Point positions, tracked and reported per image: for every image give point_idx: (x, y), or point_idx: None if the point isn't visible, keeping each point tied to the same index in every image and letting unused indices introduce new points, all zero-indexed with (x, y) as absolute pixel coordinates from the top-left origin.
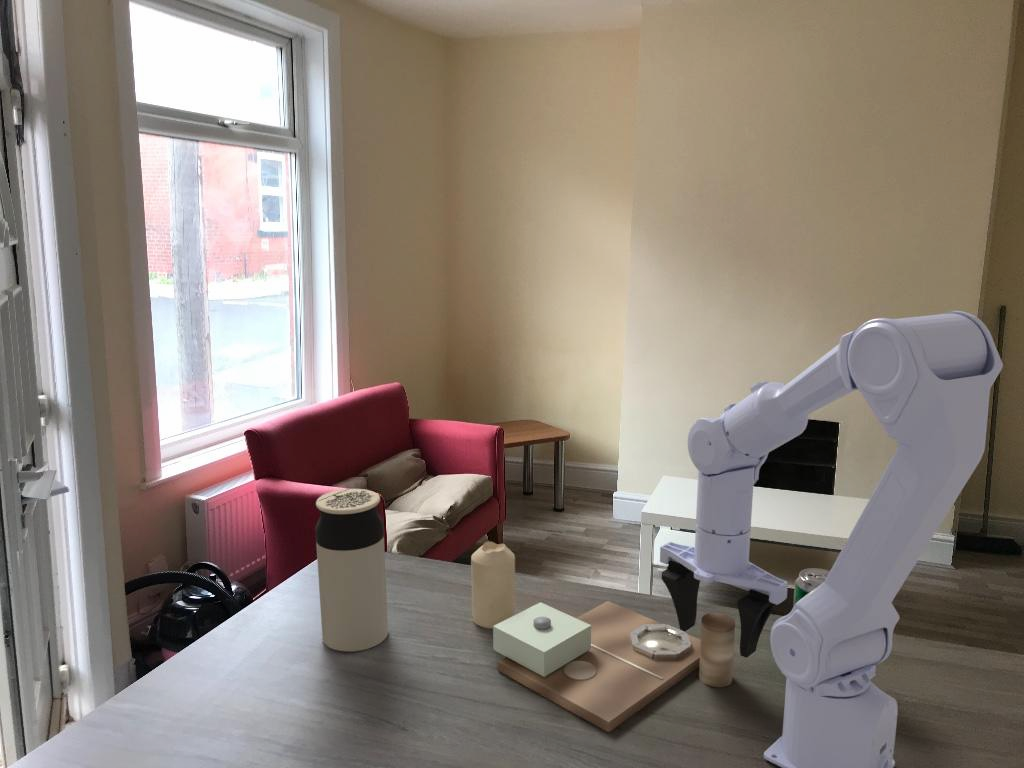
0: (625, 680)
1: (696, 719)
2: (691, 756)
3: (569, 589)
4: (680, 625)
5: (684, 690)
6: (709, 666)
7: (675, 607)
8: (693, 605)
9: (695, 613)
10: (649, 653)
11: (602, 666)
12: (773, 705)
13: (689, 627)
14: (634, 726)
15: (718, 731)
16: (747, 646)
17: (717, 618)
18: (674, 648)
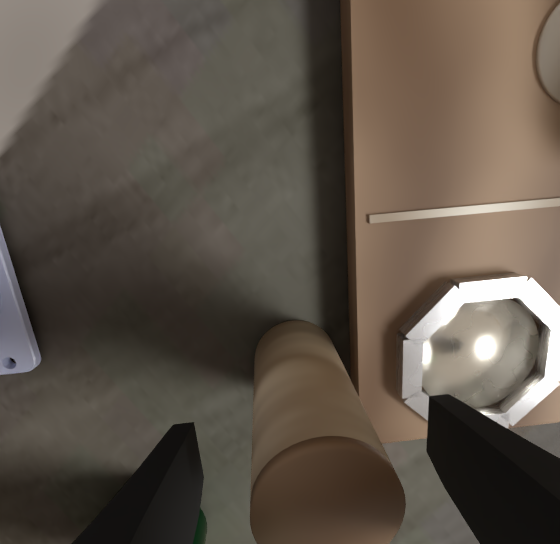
0: (446, 124)
1: (211, 178)
2: (104, 19)
3: None
4: (458, 403)
5: (314, 258)
6: (292, 346)
7: (549, 455)
8: (487, 528)
9: (454, 496)
10: (468, 281)
11: (543, 128)
12: (132, 370)
13: (430, 426)
14: (304, 4)
15: (140, 180)
16: (144, 463)
17: (344, 526)
18: (431, 360)
